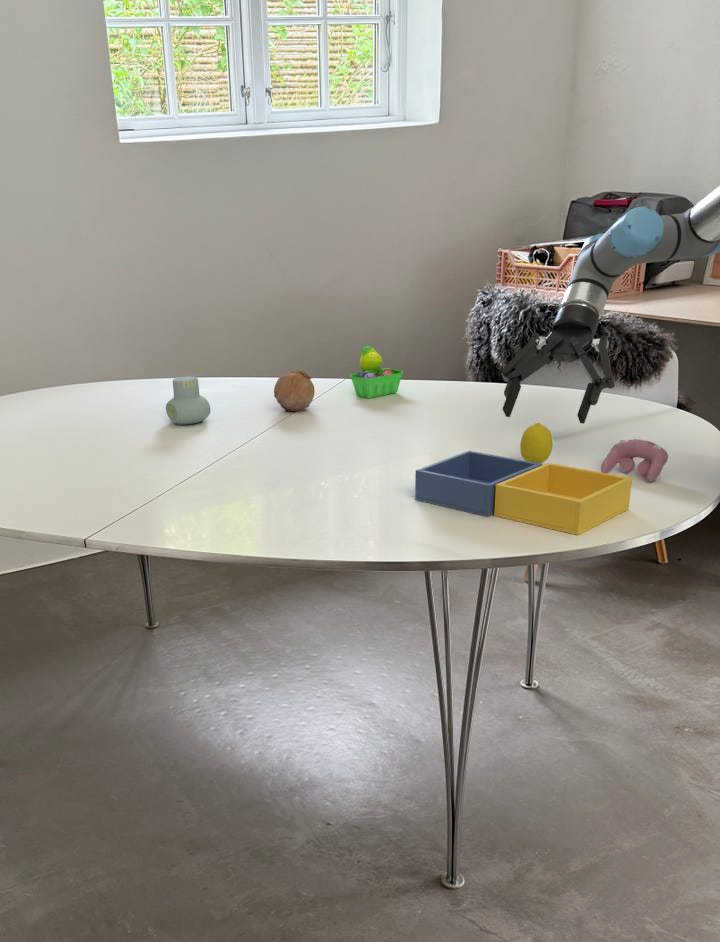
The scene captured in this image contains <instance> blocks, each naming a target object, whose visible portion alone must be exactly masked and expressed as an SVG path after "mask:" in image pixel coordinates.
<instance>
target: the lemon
mask: <svg viewBox="0 0 720 942" xmlns="http://www.w3.org/2000/svg"><path fill="white" fill-rule="evenodd" d="M553 445H554V443H553V436H552V433H551V430H550V429H549V427H547V426H546V425H543V424H541V423H540V422H535V423H534V424H532V425H530V426H528V427H527V428H525V430H524V431H523V434H522V435H521V439H520V444H519V450H520V456H521V457H522V458H523V460H524V461H529V462H535V463H540V464H543V463H544V462H546V461H547V460H548V459H549V457H550V456H551V454H552V452H553Z"/></svg>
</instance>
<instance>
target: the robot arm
mask: <svg viewBox="0 0 720 942" xmlns="http://www.w3.org/2000/svg"><path fill="white" fill-rule="evenodd" d="M718 253H720V184H719V185H717V187H715V188H713V190H711V191H710V192H709V193H707V195H705V196H704V197H702V199H700V200H699V201H698V202H697V203H695V204H694V205H692V206H691V207H690V208H689V209H687V210H686V211H684V212H681V213H673V214H665V215H660V214H659V213H658V211H656V210H654V209H650V208H648V207H647V206H636V207H633V208H632V209H630V210H629V211H627V212H626V213H625V214H623V215H622V216H621V217H619V218H618V219H617V220H616V221H615V222H614V223H613V224H612V225H611V226H610V227H609V228H608V229H607V230H606V231H605V232H604V233H597V234H596V235H591V236H589V237H588V238H587V239H586V240H585V241H584V242H583V245H582V247H581V249H580V250H579V252H578V254H577V258H576V262H575V264H574V267H573V271H572V272H571V276H570V278H569V282H568V284H567V287H566V289H565V293H564V295H563V298H562V299H561V303H560V305H559V308H558V311H557V314H556V316H555V319H554V322H553V324H552V327H551V332H550V333H549V334H548V336H541V335H539V333H538V332H533V333H532V334H531V336H530V338H529V340H528V342H527V343H526V344H525V345H524V346H523V348H521V349H520V351H518V353H516V355H514V357H513V358H512V359H511V360H510V361H508V363H507V364H506V365H505V366H504V367H503V368H502V369H501V371H500V374H501V377H502V379H503V381H504V382H505V383H506V386H505V388H504V391H503V395H504V398H505V400H504V403H503V406H502V411H503V414H504V416H505V417H506V418H511V416H512V413H513V410H514V408H515V405H516V402H517V399H518V397H519V395H520V391H521V388H522V385H521V382H523V381H524V380H526V379H528V377H530V376H532V375H534V374H535V373H536V372H537V371H539V370H540V369H541V368H543V367H544V366H546V365H550V364H551V363H553V362H554V361H555V363H556V362H557V363H561V362H566V363H571V364H573V363H574V362H576V361H578V362H579V364H580V366H581V367H582V368H583V370H584V372H585V374H586V375H587V377H588V378H589V380H590V382H588V383H587V385H586V388H585V392H584V394H583V398H582V400H581V403H580V406H579V408H578V412H577V413H576V416H577V418H578V421H579V424H583V425H584V424H585V422H586V420H587V417H588V414H589V411H590V409H591V406H596V405H597V404H598V401H599V398H600V396H601V393H602V391H603V390H604V389H613V388H615V386H616V384H615V380H614V375H613V371H612V367H611V363H610V358H609V349H610V343H609V339H608V336H607V334H602V335H601V336H600V337H599V338H595V334H596V333H597V329H598V326H599V323H600V320H601V318H602V315H603V312H604V310H605V307H606V303H607V301H608V298H609V295H610V293H611V291H612V287H613V285H614V284H615V282H616V280H617V279H619V278H620V277H621V276H622V275H624V274H625V273H626V272H628V270H630V269H631V268H632V267H633V266H635V265H639V264H649V263H650V264H651V263H659V262H668V261H677V260H678V261H679V260H680V261H681V260H688V259H689V260H691V259H692V260H693V259H694V260H695V259H703V258H705V257H709V256H714V255H717V254H718ZM543 346H544V347H543ZM593 348H595V351H596V352H598V353H599V358H600V361H601V365H602V370H603V374H604V377H601V376H600V375H599V373H598V372H597V369H596V368H595V366H594V365H593V363H592V362H591V360H590V359H589V356H588V354H587V353H588V352H589V351H590V350H592V349H593ZM538 350H539V352H538ZM537 352H538V353H537ZM536 353H537V354H536Z"/></svg>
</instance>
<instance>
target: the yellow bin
mask: <svg viewBox="0 0 720 942" xmlns="http://www.w3.org/2000/svg"><path fill="white" fill-rule="evenodd" d="M632 484H633V477H630V476H624V475H618V474H613V473H609V472H608V473H602V472H601V471H595V470H590V469H585V468H579V467H573V466H568V465H564V464H563V465H562V464H558V463H557V464H556V463H552V462H547V463H545V464H542V466H540V467H537V468H535V469H532V470H530V471H527V472H525V473H523V474H520V475H518V476H515V477H513V478H511V479H508V480H506V481H503V482H501V483H498V484H496V489H495V509H494V514H493V516H494V517H497V518H502V519H506V520H511V521H516V522H519V523H524V524H528V525H532V526H537V527H542V528H545V529H550V530H554V531H558V532H562V533H567V534H572V535H575V536H579V535H581V534H583V533H586V532H587V531H590V530H591V529H593V528H594V527H597V526H599V525H601V524H603V523H604V522H607V521H609V520H610V519H613V518H615V517H617V516H618V515H621V514H623V513H625V512H627V511H629V509H630V501H631V493H632Z"/></svg>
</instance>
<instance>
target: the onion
mask: <svg viewBox="0 0 720 942" xmlns="http://www.w3.org/2000/svg"><path fill="white" fill-rule="evenodd" d="M315 391H316V390H315V385H314V383H313V382H312V377H311V376H310V375H308V373H307V372H306V371H305V370H302V369H301V370H300V369H298V370H294V371H291V372H287V373H284V374H282V375H281V376H279V377H278V378H277V381H276V382H275V384H274V389H273V397H274V399H276V402H277V404H278V405H279V406H280V407H281V408H282V409H283V410H284V411H286V412H302V411H304V410H305V409H307V408H309V406H310V405H311V403H312V402H313V400H314V397H315Z"/></svg>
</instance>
